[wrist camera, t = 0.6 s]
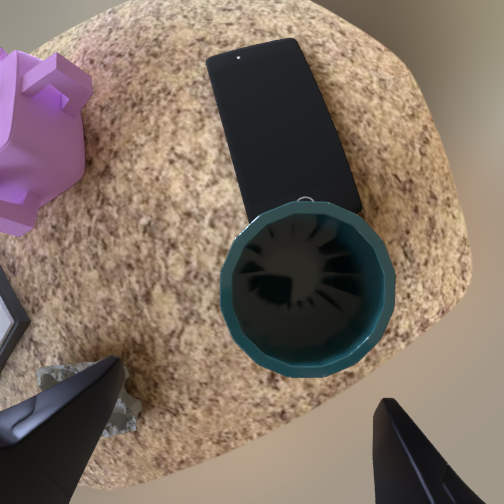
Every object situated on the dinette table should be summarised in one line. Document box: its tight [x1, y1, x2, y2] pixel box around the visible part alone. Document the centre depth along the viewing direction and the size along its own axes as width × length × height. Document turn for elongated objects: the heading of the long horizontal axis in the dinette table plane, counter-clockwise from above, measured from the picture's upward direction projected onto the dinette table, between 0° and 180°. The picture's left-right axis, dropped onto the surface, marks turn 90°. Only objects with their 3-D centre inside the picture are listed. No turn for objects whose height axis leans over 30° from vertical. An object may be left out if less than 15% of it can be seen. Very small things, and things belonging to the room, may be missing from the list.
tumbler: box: [220, 201, 396, 378], centre depth 18 cm, size 7×7×13 cm
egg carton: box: [36, 357, 143, 437], centre depth 24 cm, size 11×8×4 cm
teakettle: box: [0, 48, 93, 237], centre depth 22 cm, size 17×17×12 cm
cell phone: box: [206, 38, 362, 224], centre depth 25 cm, size 9×18×1 cm, turn 15°
